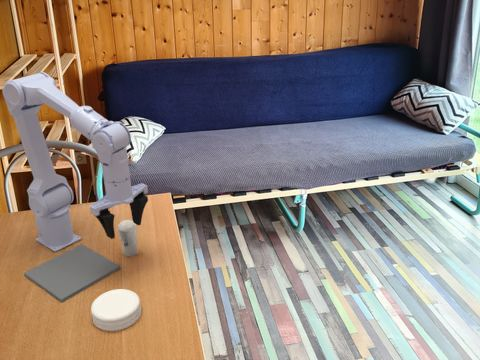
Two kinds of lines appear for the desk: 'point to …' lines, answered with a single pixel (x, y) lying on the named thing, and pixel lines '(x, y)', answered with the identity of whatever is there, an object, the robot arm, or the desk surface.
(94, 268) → the mat
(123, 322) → the white round tin
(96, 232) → the desk surface
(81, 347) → the desk surface
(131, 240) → the milkshake
